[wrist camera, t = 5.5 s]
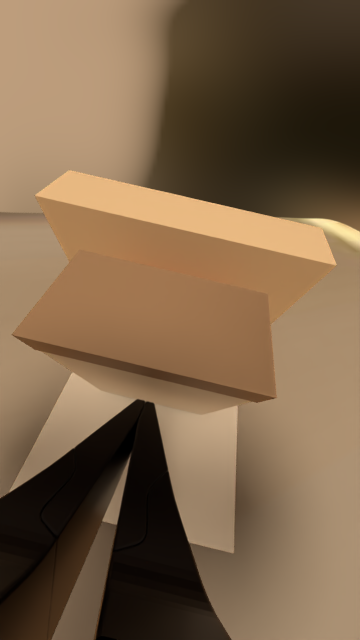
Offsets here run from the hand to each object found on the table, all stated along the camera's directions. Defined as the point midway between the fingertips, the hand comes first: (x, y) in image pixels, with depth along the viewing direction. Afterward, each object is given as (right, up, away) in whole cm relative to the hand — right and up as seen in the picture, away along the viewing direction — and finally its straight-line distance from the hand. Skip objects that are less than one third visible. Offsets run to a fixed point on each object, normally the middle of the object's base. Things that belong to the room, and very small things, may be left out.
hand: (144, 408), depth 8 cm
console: (0, -2, +7) cm, 7 cm away
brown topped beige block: (0, -1, +7) cm, 7 cm away
